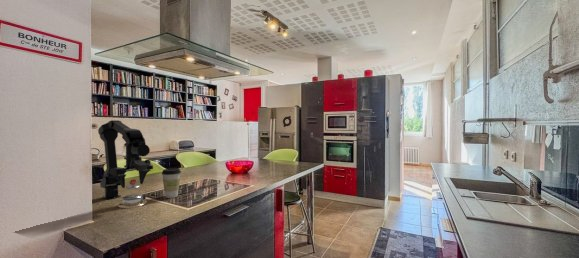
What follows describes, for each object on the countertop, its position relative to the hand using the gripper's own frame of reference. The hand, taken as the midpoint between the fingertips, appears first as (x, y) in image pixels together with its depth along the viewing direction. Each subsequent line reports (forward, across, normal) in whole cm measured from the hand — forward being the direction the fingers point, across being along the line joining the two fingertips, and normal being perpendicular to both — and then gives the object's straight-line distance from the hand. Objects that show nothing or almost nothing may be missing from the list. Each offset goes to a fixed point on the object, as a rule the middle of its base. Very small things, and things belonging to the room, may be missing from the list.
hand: (132, 185), depth 124 cm
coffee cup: (+9, +18, -6) cm, 21 cm away
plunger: (+1, 0, 0) cm, 1 cm away
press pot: (+9, 0, 0) cm, 9 cm away
